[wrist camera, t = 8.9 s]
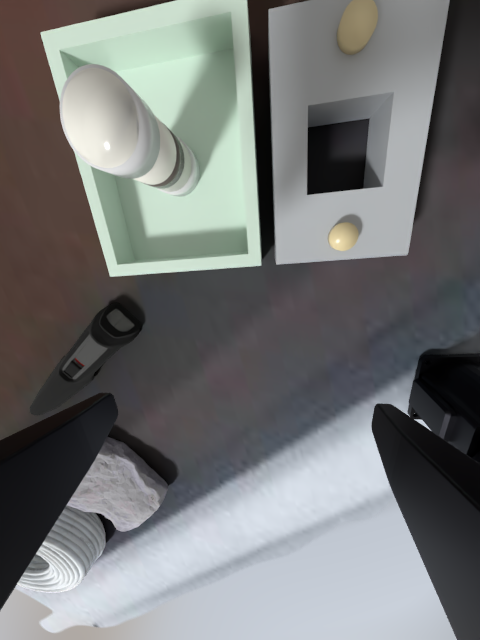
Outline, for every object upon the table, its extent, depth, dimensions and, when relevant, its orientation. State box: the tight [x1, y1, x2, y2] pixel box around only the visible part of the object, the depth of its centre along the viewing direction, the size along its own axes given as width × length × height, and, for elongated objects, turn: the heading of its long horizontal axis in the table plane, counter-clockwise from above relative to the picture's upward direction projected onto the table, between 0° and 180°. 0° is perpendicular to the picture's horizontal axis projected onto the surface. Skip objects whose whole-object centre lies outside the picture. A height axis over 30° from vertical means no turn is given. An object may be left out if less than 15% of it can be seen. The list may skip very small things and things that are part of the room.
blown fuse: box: [60, 64, 200, 197], centre depth 12 cm, size 3×3×8 cm
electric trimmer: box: [30, 303, 141, 415], centre depth 23 cm, size 4×16×3 cm, turn 133°
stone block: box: [67, 437, 168, 531], centre depth 29 cm, size 12×5×10 cm
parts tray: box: [40, 0, 262, 277], centre depth 15 cm, size 11×13×3 cm
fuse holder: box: [268, 0, 450, 265], centre depth 14 cm, size 8×12×4 cm, turn 5°
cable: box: [17, 505, 106, 593], centre depth 33 cm, size 18×18×6 cm
